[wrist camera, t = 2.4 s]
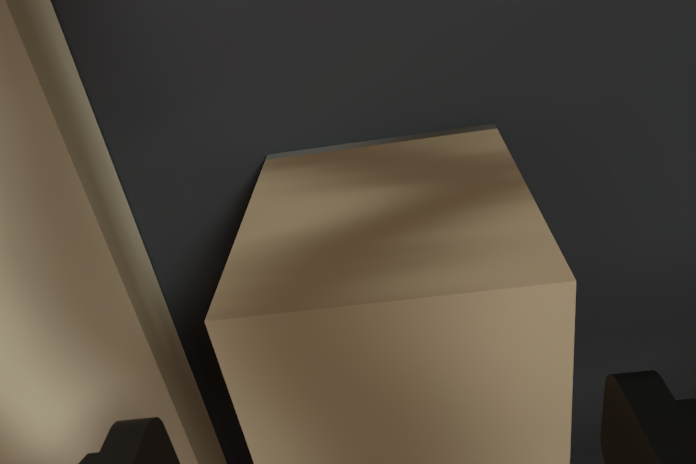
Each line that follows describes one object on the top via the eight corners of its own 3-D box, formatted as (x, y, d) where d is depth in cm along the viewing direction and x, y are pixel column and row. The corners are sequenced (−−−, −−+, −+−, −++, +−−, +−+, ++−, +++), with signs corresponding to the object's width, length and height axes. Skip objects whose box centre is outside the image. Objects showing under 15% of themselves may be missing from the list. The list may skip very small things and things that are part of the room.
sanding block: (493, 122, 13) (576, 280, 8) (504, 391, 17) (564, 617, 12) (267, 153, 14) (204, 321, 8) (329, 407, 17) (312, 630, 12)
